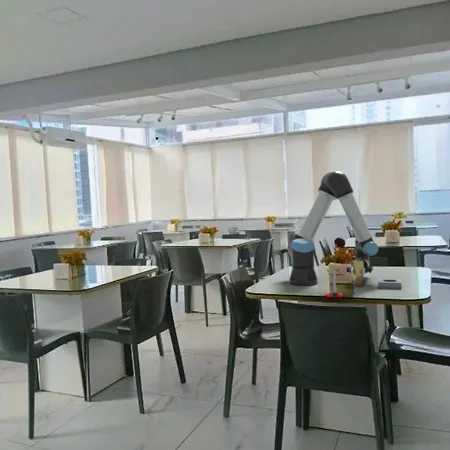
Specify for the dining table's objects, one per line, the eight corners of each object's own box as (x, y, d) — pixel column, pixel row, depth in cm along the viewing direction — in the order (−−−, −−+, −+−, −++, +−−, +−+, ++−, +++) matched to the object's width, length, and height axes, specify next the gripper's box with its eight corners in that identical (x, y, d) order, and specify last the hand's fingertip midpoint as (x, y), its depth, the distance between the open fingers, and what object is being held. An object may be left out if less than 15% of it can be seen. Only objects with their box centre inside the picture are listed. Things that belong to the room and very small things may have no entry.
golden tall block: (353, 286, 245) (352, 261, 244) (354, 284, 249) (353, 260, 248) (363, 287, 243) (363, 261, 242) (364, 285, 248) (363, 260, 247)
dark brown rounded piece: (326, 268, 307) (325, 237, 305) (349, 268, 306) (349, 236, 305) (330, 272, 292) (329, 239, 291) (354, 271, 291) (354, 238, 290)
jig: (377, 288, 239) (377, 282, 239) (378, 284, 248) (378, 278, 248) (401, 288, 235) (401, 282, 235) (401, 285, 245) (401, 279, 245)
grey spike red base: (324, 295, 229) (325, 298, 220) (324, 268, 229) (325, 270, 220) (342, 295, 228) (344, 298, 219) (342, 267, 228) (343, 270, 218)
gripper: (378, 272, 260) (376, 280, 238) (344, 272, 266) (339, 279, 244) (378, 259, 259) (376, 265, 237) (344, 258, 265) (339, 264, 243)
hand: (357, 272), depth 241 cm, fingers closed on golden tall block, 5 cm apart
